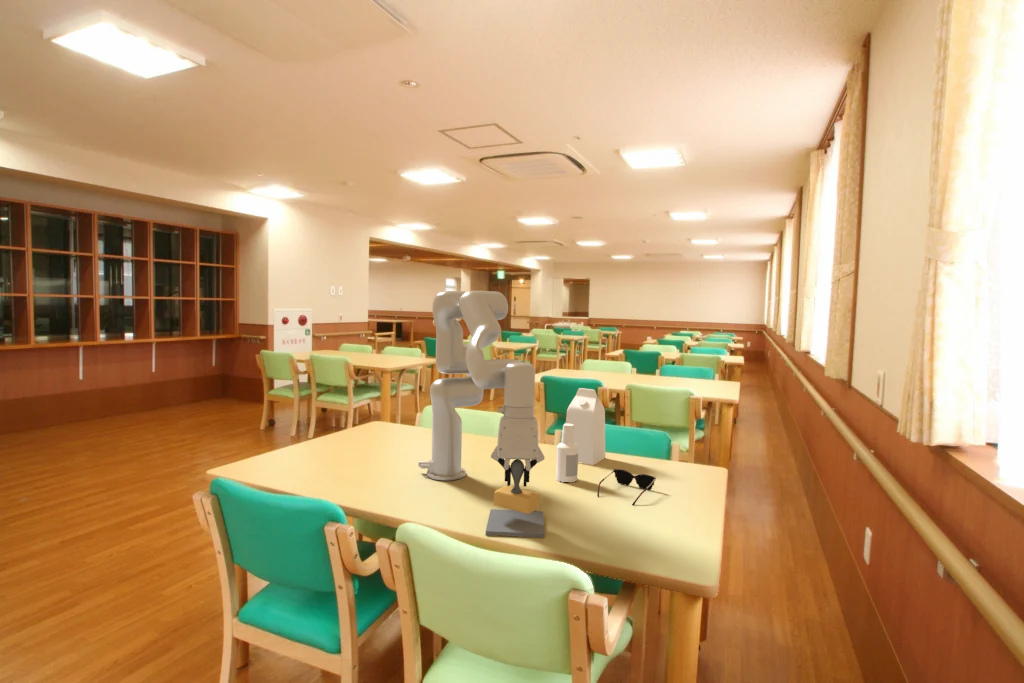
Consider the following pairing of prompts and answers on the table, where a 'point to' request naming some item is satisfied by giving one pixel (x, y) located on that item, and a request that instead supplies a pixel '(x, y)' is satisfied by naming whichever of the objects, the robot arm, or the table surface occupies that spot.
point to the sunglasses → (627, 477)
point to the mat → (515, 523)
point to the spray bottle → (567, 456)
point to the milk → (588, 425)
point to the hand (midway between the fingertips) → (517, 483)
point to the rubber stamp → (516, 493)
